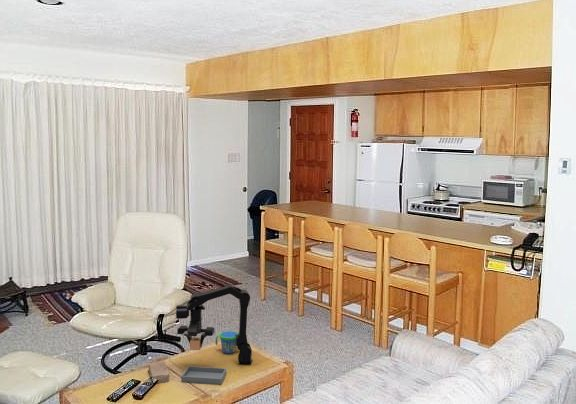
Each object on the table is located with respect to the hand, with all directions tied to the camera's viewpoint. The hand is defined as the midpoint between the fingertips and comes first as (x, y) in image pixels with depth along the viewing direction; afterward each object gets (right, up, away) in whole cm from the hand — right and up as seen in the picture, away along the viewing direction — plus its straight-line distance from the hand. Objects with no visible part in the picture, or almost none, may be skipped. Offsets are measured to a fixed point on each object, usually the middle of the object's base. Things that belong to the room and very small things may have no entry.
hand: (196, 346), depth 276 cm
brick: (-17, -13, -11) cm, 24 cm away
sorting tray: (+6, -13, -12) cm, 19 cm away
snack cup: (+15, -9, +21) cm, 27 cm away
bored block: (0, -1, 0) cm, 1 cm away
